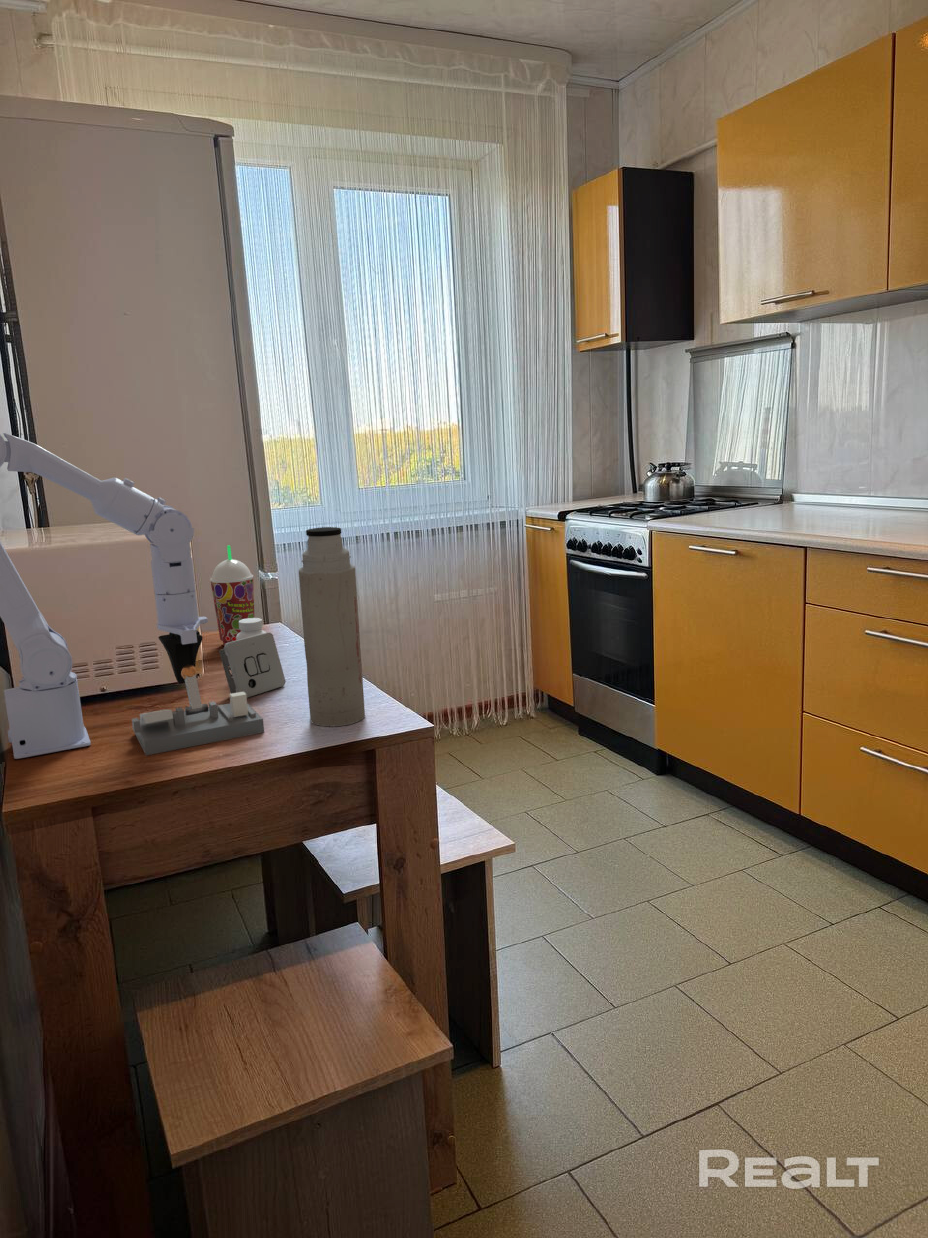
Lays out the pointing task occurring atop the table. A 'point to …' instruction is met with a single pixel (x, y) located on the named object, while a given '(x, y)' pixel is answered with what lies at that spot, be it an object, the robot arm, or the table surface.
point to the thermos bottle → (331, 630)
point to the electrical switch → (252, 665)
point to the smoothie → (232, 596)
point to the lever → (193, 691)
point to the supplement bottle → (250, 628)
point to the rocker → (156, 716)
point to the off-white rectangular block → (238, 704)
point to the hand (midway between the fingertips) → (185, 681)
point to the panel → (196, 728)
